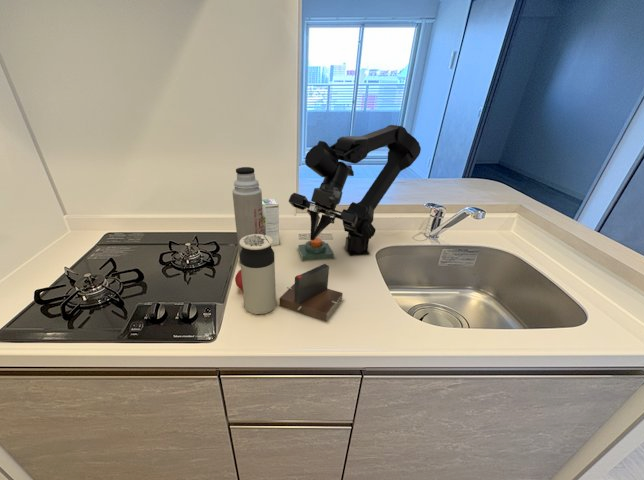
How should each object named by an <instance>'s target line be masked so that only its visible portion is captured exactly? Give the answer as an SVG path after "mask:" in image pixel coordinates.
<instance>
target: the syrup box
mask: <svg viewBox="0 0 644 480" xmlns="http://www.w3.org/2000/svg"><path fill="white" fill-rule="evenodd" d="M262 210H263V230H264V235H267V236H269V237H271V238H272V240H273V243H272V245H271V246H277V245H280V203H278V201H277V200H276V199H275V198H262Z"/></svg>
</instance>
